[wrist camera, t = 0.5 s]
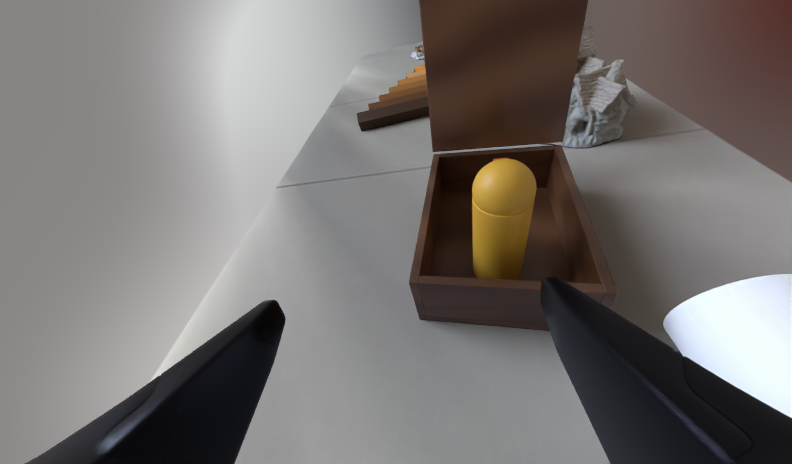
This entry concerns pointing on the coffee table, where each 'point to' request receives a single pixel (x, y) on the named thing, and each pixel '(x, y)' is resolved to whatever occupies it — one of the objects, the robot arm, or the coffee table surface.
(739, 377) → the mug
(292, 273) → the coffee table surface
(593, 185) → the coffee table surface
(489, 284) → the chest
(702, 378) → the robot arm
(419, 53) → the frog figurine
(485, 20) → the chest lid
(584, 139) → the ceramic cottage
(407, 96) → the pan flute
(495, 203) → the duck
